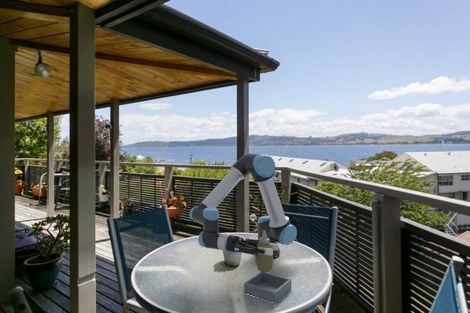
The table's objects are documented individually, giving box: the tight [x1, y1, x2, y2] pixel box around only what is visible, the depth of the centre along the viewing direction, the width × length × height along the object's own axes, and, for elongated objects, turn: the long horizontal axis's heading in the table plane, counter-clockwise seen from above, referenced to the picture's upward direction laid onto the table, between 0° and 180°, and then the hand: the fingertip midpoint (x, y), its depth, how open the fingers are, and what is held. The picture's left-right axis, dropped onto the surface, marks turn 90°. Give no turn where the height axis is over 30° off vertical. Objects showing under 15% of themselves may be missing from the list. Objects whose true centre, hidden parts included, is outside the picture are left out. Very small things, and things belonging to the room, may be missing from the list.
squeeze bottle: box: [254, 230, 274, 273], centre depth 140 cm, size 8×8×18 cm
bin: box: [243, 271, 292, 304], centre depth 141 cm, size 16×16×5 cm
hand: (275, 249), depth 138 cm, fingers closed on squeeze bottle, 6 cm apart
